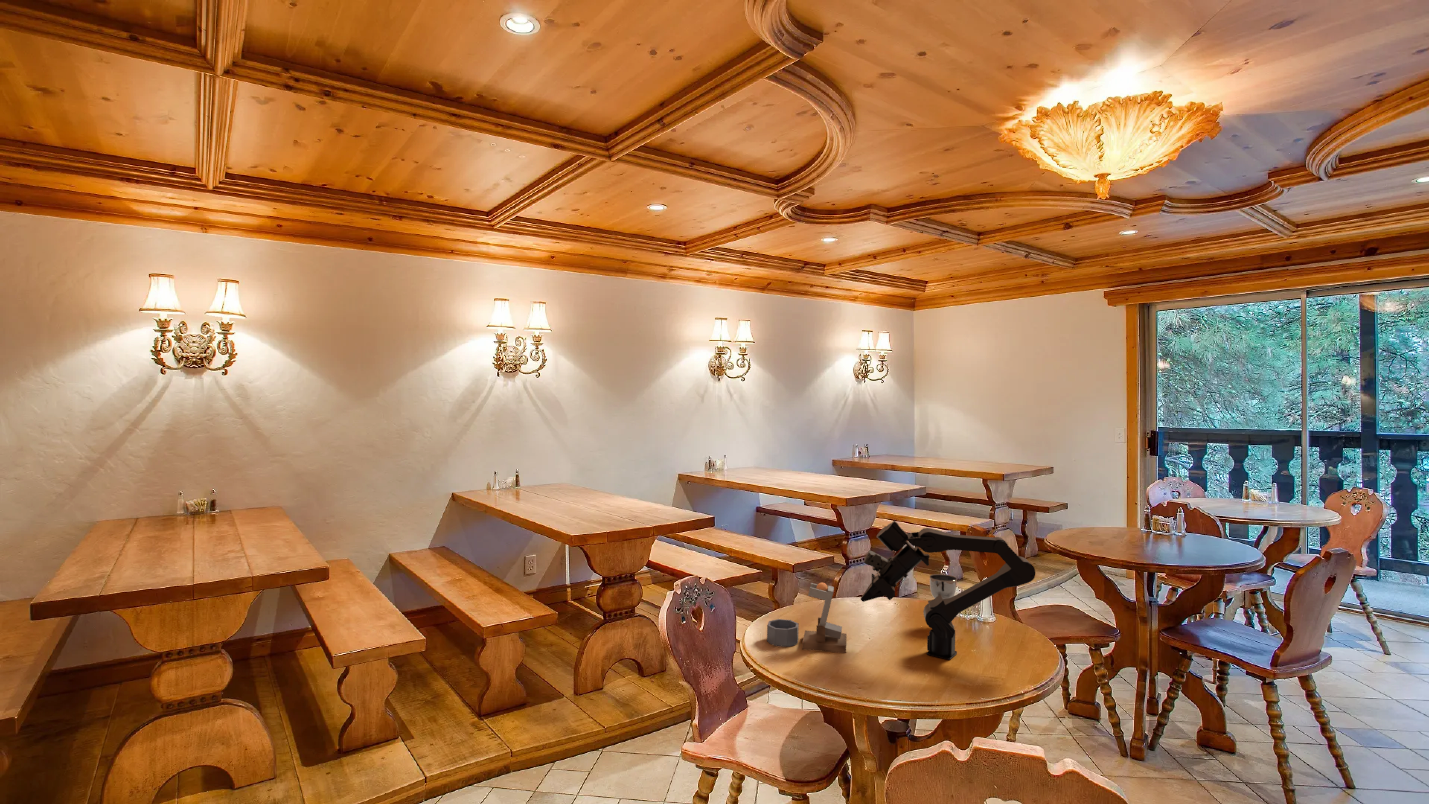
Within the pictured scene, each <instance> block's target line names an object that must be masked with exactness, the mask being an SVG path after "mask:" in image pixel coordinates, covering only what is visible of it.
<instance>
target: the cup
mask: <svg viewBox="0 0 1429 804" xmlns="http://www.w3.org/2000/svg"><path fill="white" fill-rule="evenodd" d="M799 625H800V624H799V623H798V622H796V621H794V620H792V619H784V618H783V619H782V618H777V619H772V620H768V622H767V625H766V627H767V628H766V641H767V642H768V644H770V645H772V646H775V647H779V648H787V647H790V648H791V647H794V646H796V645H797V644H799V627H800V626H799Z"/></svg>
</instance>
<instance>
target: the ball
mask: <svg viewBox="0 0 1429 804" xmlns="http://www.w3.org/2000/svg"><path fill="white" fill-rule="evenodd" d="M816 589H819V590H823V591H826V592H827V590H828V585H827V584H826V583H825V582H819V583H817V588H816Z"/></svg>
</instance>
